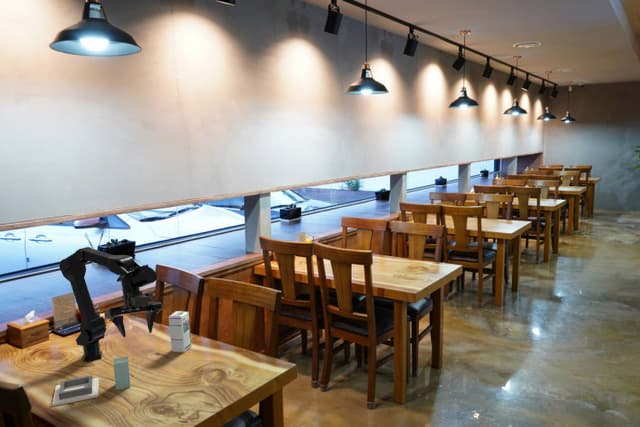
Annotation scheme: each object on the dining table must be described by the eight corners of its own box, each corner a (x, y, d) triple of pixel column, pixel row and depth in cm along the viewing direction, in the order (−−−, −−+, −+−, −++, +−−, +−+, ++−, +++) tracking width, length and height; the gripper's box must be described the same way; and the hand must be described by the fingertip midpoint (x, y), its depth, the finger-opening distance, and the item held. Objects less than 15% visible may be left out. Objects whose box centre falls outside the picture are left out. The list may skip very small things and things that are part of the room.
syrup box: (185, 352, 191) (182, 316, 189) (170, 351, 192) (168, 315, 190) (191, 346, 196) (189, 311, 194) (178, 345, 198) (175, 310, 196)
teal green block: (115, 384, 167) (113, 358, 165) (129, 381, 168) (127, 356, 167) (116, 390, 163) (113, 364, 161) (130, 387, 164) (128, 361, 163)
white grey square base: (56, 387, 165) (55, 379, 165) (98, 379, 170) (98, 371, 170) (52, 406, 154) (51, 397, 153) (98, 396, 159) (97, 388, 158)
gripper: (112, 287, 164) (119, 335, 160) (165, 282, 176) (173, 326, 172) (101, 296, 171) (107, 341, 167) (152, 290, 184) (159, 332, 180)
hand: (137, 334), depth 171 cm, fingers open, 9 cm apart
